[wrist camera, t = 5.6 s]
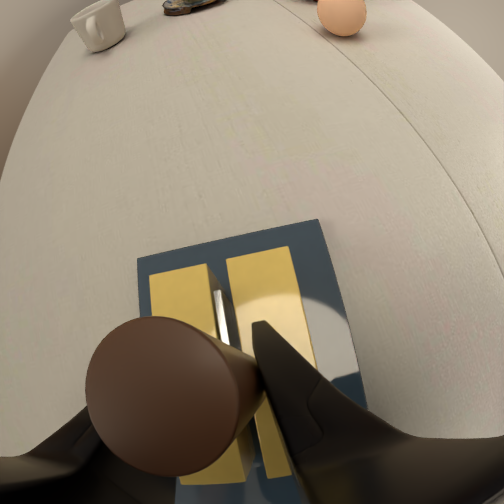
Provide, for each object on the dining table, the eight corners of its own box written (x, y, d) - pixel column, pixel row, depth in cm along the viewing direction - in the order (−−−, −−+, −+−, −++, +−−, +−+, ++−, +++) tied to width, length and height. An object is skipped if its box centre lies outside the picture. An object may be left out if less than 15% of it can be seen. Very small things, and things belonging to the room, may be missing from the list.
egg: (314, 25, 29) (314, -25, 22) (358, 28, 28) (362, -20, 21) (319, 42, 26) (320, -15, 19) (368, 46, 26) (375, -8, 19)
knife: (277, 399, 13) (255, 473, 3) (228, 408, 13) (98, 472, 3) (259, 308, 15) (204, 169, 5) (212, 317, 15) (84, 204, 5)
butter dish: (376, 485, 11) (406, 519, 7) (182, 514, 11) (150, 550, 7) (316, 224, 18) (325, 175, 13) (142, 262, 18) (103, 228, 13)
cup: (129, 48, 32) (112, 5, 24) (81, 70, 31) (60, 31, 24) (132, 27, 36) (118, -8, 29) (91, 46, 36) (75, 13, 28)
